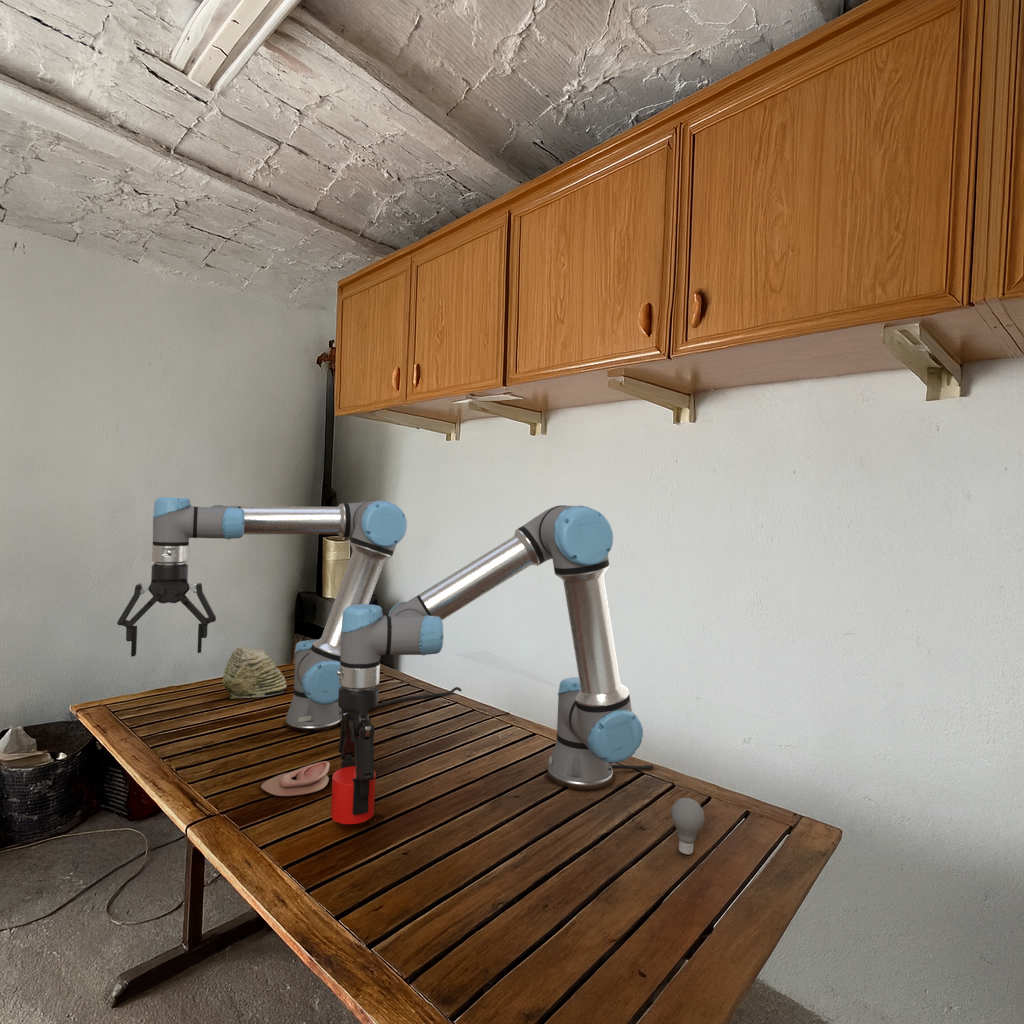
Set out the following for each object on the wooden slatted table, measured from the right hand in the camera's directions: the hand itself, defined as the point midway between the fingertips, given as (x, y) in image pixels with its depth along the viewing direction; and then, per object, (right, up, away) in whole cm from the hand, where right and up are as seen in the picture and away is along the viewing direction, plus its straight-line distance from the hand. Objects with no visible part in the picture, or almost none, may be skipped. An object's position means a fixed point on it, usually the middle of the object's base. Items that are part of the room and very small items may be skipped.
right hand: (353, 802), depth 122 cm
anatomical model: (-17, -4, +16) cm, 23 cm away
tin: (0, -2, 0) cm, 2 cm away
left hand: (-50, +23, +26) cm, 61 cm away
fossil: (-50, -1, +76) cm, 91 cm away
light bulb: (+63, -8, -4) cm, 64 cm away
